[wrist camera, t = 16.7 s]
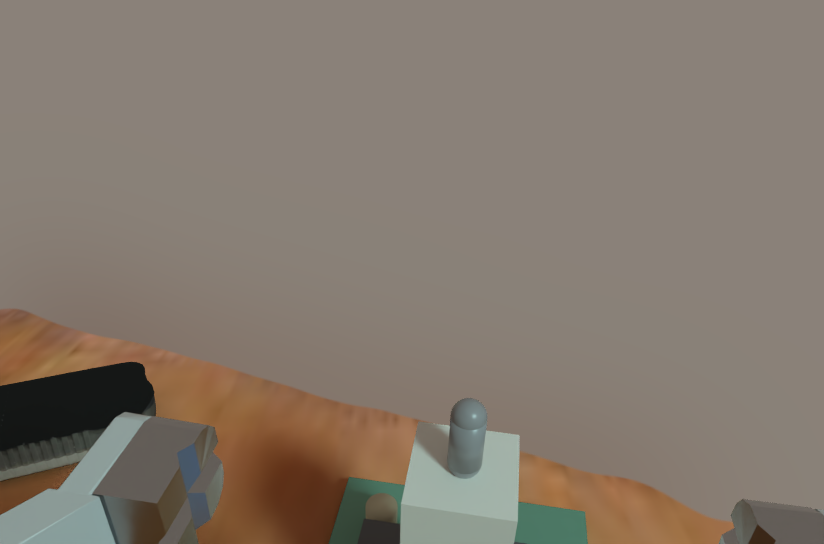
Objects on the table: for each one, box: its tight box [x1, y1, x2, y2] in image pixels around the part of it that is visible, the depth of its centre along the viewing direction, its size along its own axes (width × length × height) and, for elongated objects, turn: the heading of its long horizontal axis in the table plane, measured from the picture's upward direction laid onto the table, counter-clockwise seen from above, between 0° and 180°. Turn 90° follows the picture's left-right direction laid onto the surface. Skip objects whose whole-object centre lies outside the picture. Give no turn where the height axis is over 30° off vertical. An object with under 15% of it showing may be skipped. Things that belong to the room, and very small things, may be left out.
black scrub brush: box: [0, 362, 156, 481], centre depth 47 cm, size 16×8×4 cm, turn 111°
